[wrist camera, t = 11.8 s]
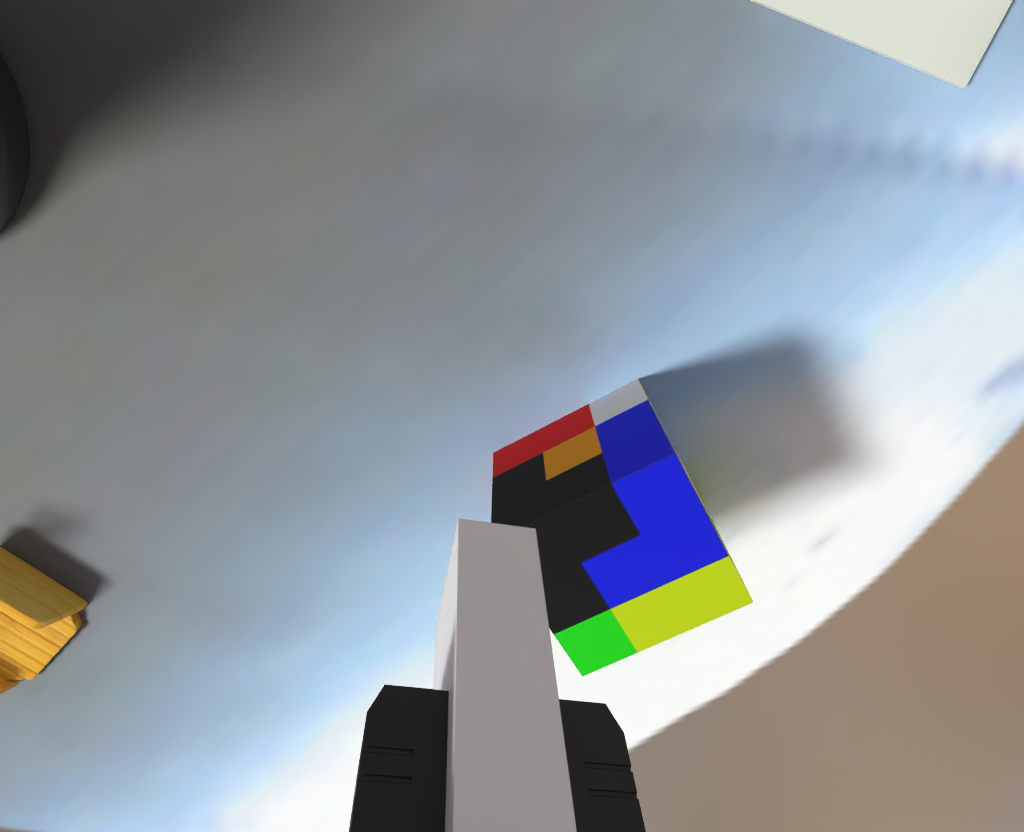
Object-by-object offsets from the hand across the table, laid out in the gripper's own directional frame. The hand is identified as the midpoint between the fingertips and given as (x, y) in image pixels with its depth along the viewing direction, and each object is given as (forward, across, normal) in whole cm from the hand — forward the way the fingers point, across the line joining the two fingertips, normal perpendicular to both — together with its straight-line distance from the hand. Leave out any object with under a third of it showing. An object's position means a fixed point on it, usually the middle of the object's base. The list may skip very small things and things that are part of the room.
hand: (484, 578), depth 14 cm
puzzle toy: (+27, +11, -14) cm, 32 cm away
